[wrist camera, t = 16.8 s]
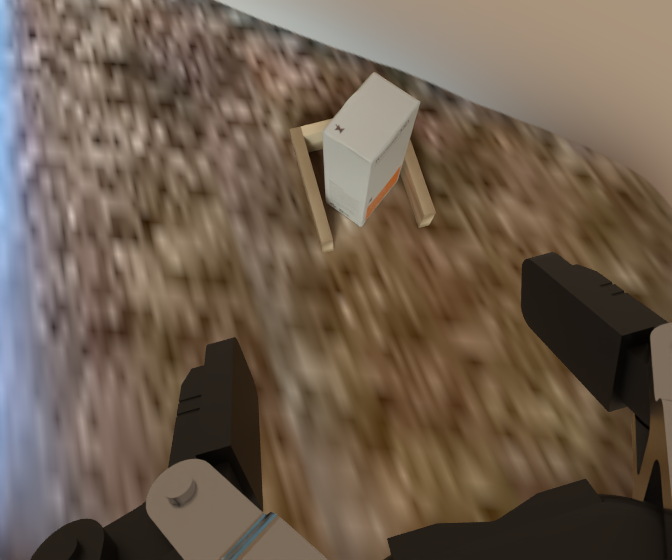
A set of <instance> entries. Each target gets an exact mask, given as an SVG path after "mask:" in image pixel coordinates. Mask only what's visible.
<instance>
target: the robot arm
mask: <svg viewBox="0 0 672 560" xmlns="http://www.w3.org/2000/svg"><path fill="white" fill-rule="evenodd" d="M521 309H522V313H523V316H524V319H525V321H526V323H527V324H528V326H529V327H530V328H531V329H532V330H533V331H534V333H535V334H536V335H537V336H538V337H539V338H540V339H541V340H542V341H543V342H544V343H545V344H546V345H547V346H548V348H549V349H550V350H551V351H552V352H553V353H554V354H555V355H556V356H557V357H558V358H559V359H560V360H561V361H562V363H563V364H564V365H565V366H566V367H567V368H568V369H569V370H570V371H571V372H572V373H573V374H574V375H575V377H576V378H577V379H578V380H579V381H580V382H581V383H582V384H583V385H584V386H585V387H586V388H587V389H588V390H589V392H590V393H591V394H592V395H593V396H594V397H595V398H596V399H597V400H598V401H599V402H600V403H601V404H602V406H603V407H604V408H605V409H606V410H607V411H608V412H610V411H614V410H617V409H620V408H624V407H627V406H628V407H629V408H630V409H631V410H632V411H633V412H634V413H633V418H632V451H633V499H632V498H628V497H622V496H617V495H605V494H597V493H596V492H595V490H594V489H593V488H592V486H591V485H590V484H589V482H588V481H587V480H586V479H583V480H580V481H577V482H573V483H570V484H567V485H563V486H560V487H557V488H553V489H550V490H547V491H544V492H540V493H537V494H536V495H534V496H533V497H531V498H530V499H528V500H527V501H525V502H524V503H522V504H521V505H519V506H518V507H516V508H515V509H513V510H512V511H510V512H509V513H507V514H506V515H504V516H503V517H501V518H500V519H498V520H496V521H492V522H472V523H439V524H434V525H430V526H427V527H424V528H420V529H417V530H414V531H411V532H407V533H404V534H401V535H397V536H394V537H391V538H387V540H388V544H389V548H390V552H391V555H390V556H388V557H387V558H385V559H384V560H672V323H668V322H667V321H666V320H664V319H663V318H661V317H660V316H659V315H657V314H656V313H654V312H653V311H652V310H650V309H649V308H647V307H646V306H645V305H643V304H642V303H640V302H639V301H638V300H636V299H635V298H633V297H632V296H631V295H629V294H628V293H624V290H622V289H621V288H619V287H618V286H617V285H615V284H612V282H611V281H610V280H608V279H607V278H605V277H604V276H603V275H601V274H600V273H598V272H597V271H594V270H591V269H589V268H586V267H583V266H580V265H577V264H576V265H571V264H570V263H569V262H567V261H566V260H565V259H563V258H562V257H561V256H559V255H558V254H556V253H554V252H551V253H547V254H543V255H540V256H536V257H532V258H529V259H525V260H524V262H523V264H522V286H521ZM179 402H180V404H178V410H177V416H178V417H176V423H175V429H174V435H173V442H172V448H171V454H170V460H169V467H168V469H167V470H166V471H164V472H163V473H162V474H161V475H160V476H159V477H158V478H157V479H156V481H155V482H154V483H153V485H152V486H151V488H150V490H149V493H148V496H147V500H146V502H144V503H143V504H142V505H141V506H139V507H138V508H136V509H134V510H133V511H131V512H129V513H128V514H126V515H124V516H123V517H121V518H119V519H117V520H116V521H114V522H112V523H111V524H109V525H107V526H105V527H104V528H103V527H102V526H101V525H100V524H99V523H98V522H97V521H95V520H92V519H80V520H76V521H73V522H71V523H68V524H66V525H65V526H63V527H61V528H60V529H58V530H57V531H55V532H54V533H53V534H52V535H50V536H49V537H48V538H47V539H46V540H45V541H44V542H43V543H42V544H41V546H40V547H39V548H38V549H37V550H36V552H35V553H34V555H33V556H32V558H31V560H328V559H327V558H326V557H324V556H323V555H322V554H321V553H320V552H319V551H318V550H316V549H315V548H314V547H313V546H312V545H311V544H310V543H309V542H307V541H306V540H305V539H304V538H303V537H302V536H301V535H300V534H298V533H297V532H296V531H295V530H294V529H293V528H292V527H291V526H289V525H288V524H287V523H286V522H285V521H284V520H283V519H281V518H280V517H279V516H278V515H276V514H274V513H272V512H270V513H269V514H268V515H266V514H264V513H263V496H262V474H261V453H260V431H259V409H258V396H257V391H256V387H255V383H254V380H253V377H252V375H251V372H250V370H249V367H248V365H247V362H246V360H245V357H244V355H243V352H242V350H241V347H240V345H239V343H238V341H237V339H236V338H235V337H234V338H231V339H227V340H223V341H219V342H216V343H212V344H208V345H207V347H206V355H205V365H204V366H200V367H196V368H193V369H191V371H190V372H189V374H188V375H187V377H186V379H185V380H184V382H183V383H182V385H181V392H180V398H179Z"/></svg>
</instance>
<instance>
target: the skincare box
mask: <svg viewBox="0 0 672 560" xmlns="http://www.w3.org/2000/svg"><path fill="white" fill-rule="evenodd" d="M419 105H420V101H419V100H417V99H415V98H414V97H412V96H411V95H409V94H408V93H406V92H404V91H403V90H401V89H400V88H398V87H397V86H395V85H394V84H392V83H391V82H389V81H388V80H386V79H385V78H383V77H382V76H380V75H379V74H377V73H376V72H373V73H372V74H371V75H370V76H369V77H368V78H367V79H366V81H365V82H364V83H363V84H362V85H361V86H360V88H359V89H358V90H357V91H356V92H355V93H354V94H353V95H352V96H351V97H350V98H349V99H348V100H347V101H346V102H345V104H344V105H343V107H342V108H341V109H340V111H339V112H338V113H337V114H336V115H335V117H334V118H333V119H332V120H331V121H330V122H329V124H328V125H327V126H326V127H325V128H324V130H323V132H322V137H323V156H324V175H325V197H326V203H327V204H329V205H330V206H332V207H333V208H335V209H336V210H337V211H339V212H340V213H342V214H343V215H345V216H346V217H347V218H349V219H350V220H352V221H353V222H354V223H356V224H357V225H359V226H360V227H361V226H363V224H364V223H365V222H366V220H367V219H368V217H369V216H370V215H371V214H372V212H373V211H374V210H375V208H376V207H377V206H378V204H379V203H380V202H381V201H382V199H383V198H384V197H385V196H386V195H387V193H388V192H389V191H390V190H391V188H392V187H393V186H394V185H395V184H396V182H397V181H398V178H399V174H400V171H401V168H402V164H403V161H404V157H405V154H406V150H407V147H408V143H409V140H410V136H411V133H412V130H413V126H414V122H415V119H416V116H417V112H418V109H419Z"/></svg>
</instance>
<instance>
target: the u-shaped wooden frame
mask: <svg viewBox="0 0 672 560" xmlns="http://www.w3.org/2000/svg"><path fill="white" fill-rule="evenodd" d="M331 120H332V119H329V120H325V121H321V122H317V123H313V124H309V125H305V126H301V127H297V128H293V129H290V133H291V138H292V143H293V148H294V151H295V155H296V159H297V162H298V166H299V169H300V173H301V177H302V180H303V184H304V187H305V191H306V195H307V198H308V202H309V205H310V209H311V213H312V216H313V220H314V223H315V227H316V231H317V234H318V238H319V241H320V245H321V248H322V252H323V253H325V252H329V251H333V250H334V249H333V238H332V234H331V231H330V227H329V224H328V220H327V217H326V213H325V210H324V206H323V203H322V199H321V196H320V192H319V189H318V185H317V182H316V178H315V175H314V171H313V168H312V164H311V161H310V157H309V154H308V153H310V152H314V151H318V150H322V149H323V137H322V132H323V130H324V128H325V127H326V126H327V125H328V124H329V122H330V121H331ZM400 174H401V177H402V180H403V183H404V186H405V189H406V192H407V195H408V198H409V201H410V204H411V207H412V210H413V213H414V216H415V219H416V222H417V225H418V228H420V227H424V226H428V225H429V224H430V222H431V221H432V219H433V217H434V215H435V213H436V212H435V209H434V206H433V203H432V200H431V197H430V195H429V192H428V189H427V186H426V183H425V180H424V177H423V174H422V172H421V169H420V166H419V163H418V160H417V157H416V154H415V152H414V149H413V146H412V143H411V140H409V143H408V147H407V150H406V154H405V157H404V161H403V164H402V168H401V171H400Z"/></svg>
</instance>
